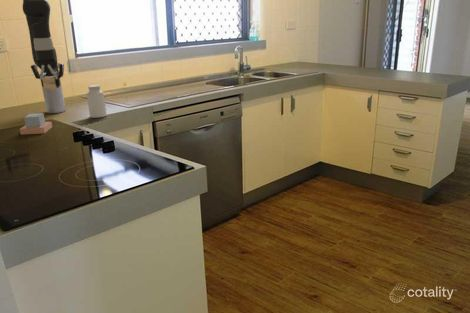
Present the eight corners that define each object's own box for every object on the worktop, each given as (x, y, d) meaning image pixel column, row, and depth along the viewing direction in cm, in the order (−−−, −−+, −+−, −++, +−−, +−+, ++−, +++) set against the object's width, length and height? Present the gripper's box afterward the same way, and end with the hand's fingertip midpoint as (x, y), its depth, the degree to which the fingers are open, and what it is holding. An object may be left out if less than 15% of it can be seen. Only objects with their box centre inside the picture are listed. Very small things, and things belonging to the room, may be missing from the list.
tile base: (29, 128, 189) (28, 122, 188) (52, 126, 189) (51, 121, 188) (20, 134, 179) (19, 129, 178) (44, 133, 180) (43, 127, 179)
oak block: (48, 87, 189) (45, 76, 187) (59, 87, 189) (57, 76, 188) (44, 89, 184) (42, 78, 183) (55, 89, 185) (53, 78, 183)
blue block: (31, 123, 186) (29, 113, 184) (45, 123, 186) (43, 113, 185) (26, 127, 180) (24, 117, 179) (40, 126, 181) (38, 116, 179)
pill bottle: (108, 113, 209) (104, 83, 204) (104, 117, 202) (99, 87, 196) (92, 114, 209) (88, 84, 204) (87, 118, 201) (82, 87, 196)
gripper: (63, 47, 185) (70, 85, 191) (30, 48, 184) (38, 86, 190) (58, 48, 178) (65, 88, 184) (23, 50, 177) (32, 90, 183)
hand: (51, 87), depth 187 cm, fingers closed on oak block, 5 cm apart
